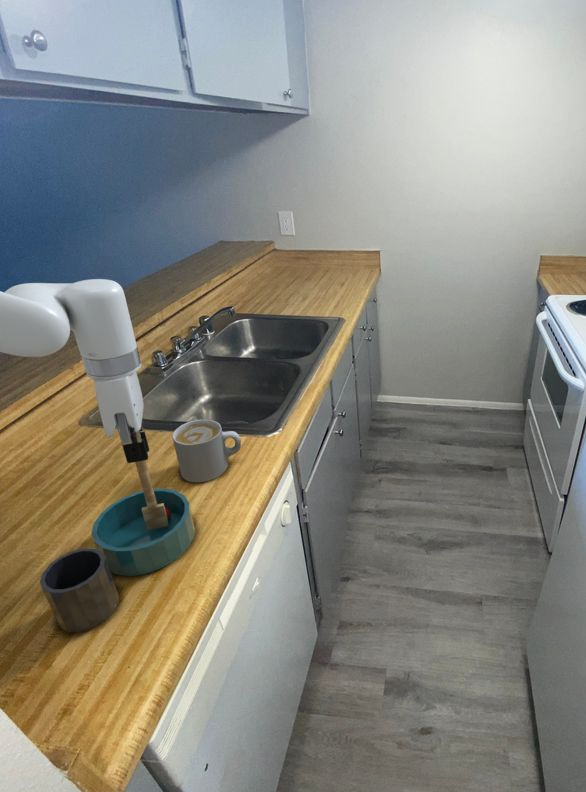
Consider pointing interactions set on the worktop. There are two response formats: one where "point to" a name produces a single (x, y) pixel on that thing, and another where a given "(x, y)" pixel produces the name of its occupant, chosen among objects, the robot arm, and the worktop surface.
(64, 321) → the robot arm
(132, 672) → the worktop surface
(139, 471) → the paddle
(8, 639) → the worktop surface
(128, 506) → the bowl
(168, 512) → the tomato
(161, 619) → the worktop surface
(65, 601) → the crock
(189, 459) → the coffee mug
